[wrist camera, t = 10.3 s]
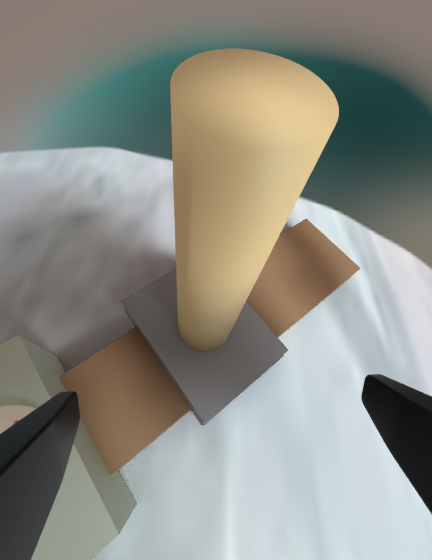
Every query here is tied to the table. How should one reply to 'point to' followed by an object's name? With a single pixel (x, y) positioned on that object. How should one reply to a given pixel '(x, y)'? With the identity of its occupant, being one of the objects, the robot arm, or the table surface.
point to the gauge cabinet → (81, 465)
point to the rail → (152, 375)
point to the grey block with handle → (229, 215)
